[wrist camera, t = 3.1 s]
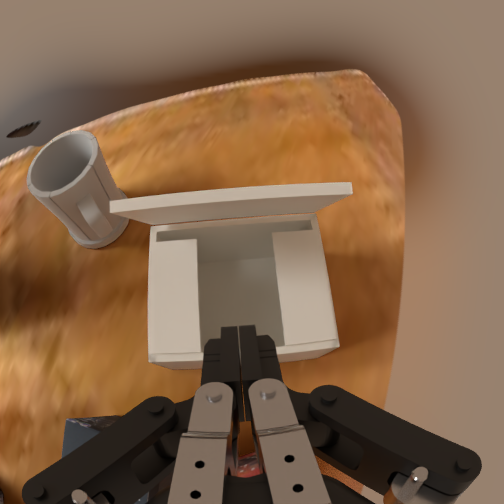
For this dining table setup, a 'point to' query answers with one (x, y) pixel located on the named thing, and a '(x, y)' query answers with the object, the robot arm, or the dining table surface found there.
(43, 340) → the dining table surface
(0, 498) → the mineral rock
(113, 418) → the box
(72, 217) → the cup
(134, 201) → the flap
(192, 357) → the carton
